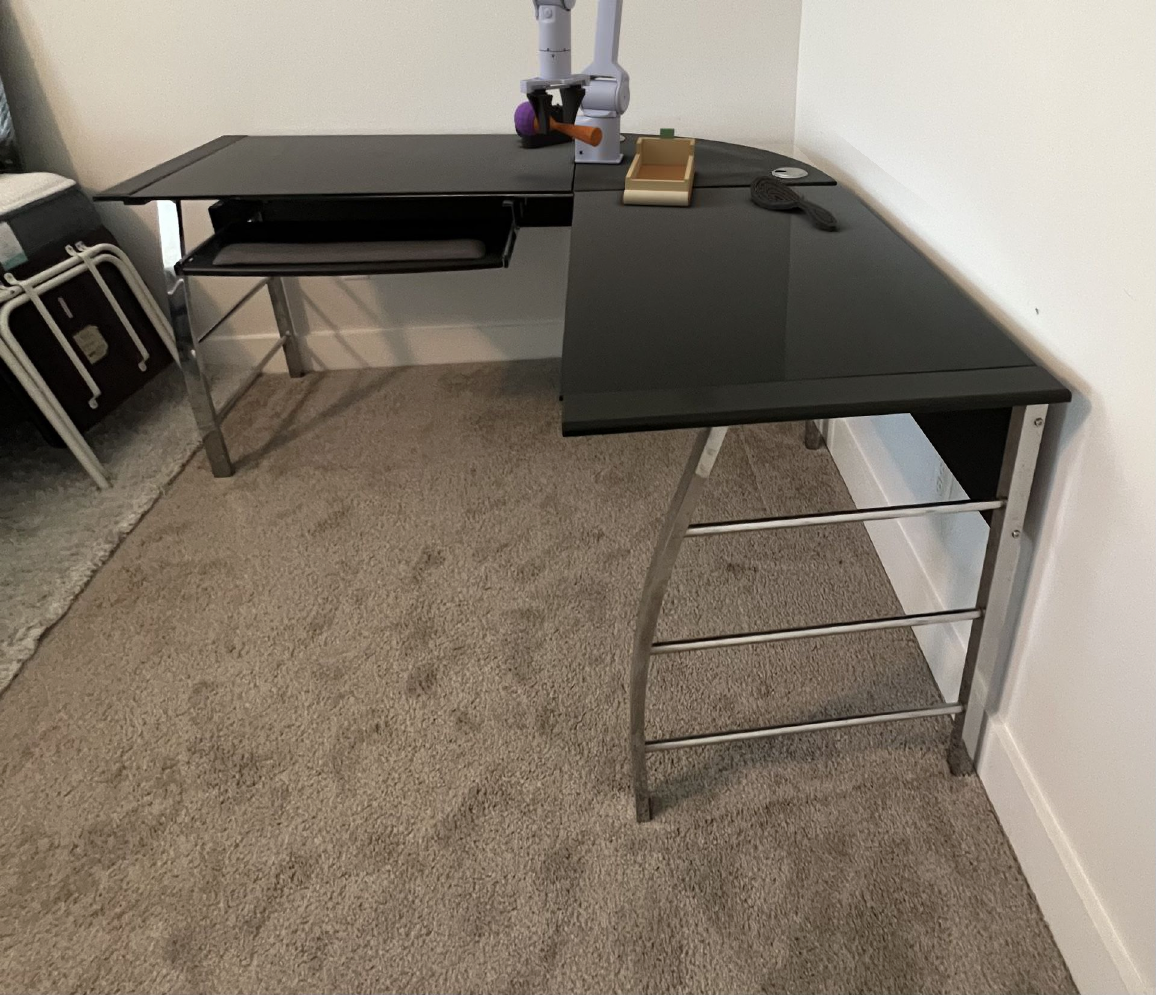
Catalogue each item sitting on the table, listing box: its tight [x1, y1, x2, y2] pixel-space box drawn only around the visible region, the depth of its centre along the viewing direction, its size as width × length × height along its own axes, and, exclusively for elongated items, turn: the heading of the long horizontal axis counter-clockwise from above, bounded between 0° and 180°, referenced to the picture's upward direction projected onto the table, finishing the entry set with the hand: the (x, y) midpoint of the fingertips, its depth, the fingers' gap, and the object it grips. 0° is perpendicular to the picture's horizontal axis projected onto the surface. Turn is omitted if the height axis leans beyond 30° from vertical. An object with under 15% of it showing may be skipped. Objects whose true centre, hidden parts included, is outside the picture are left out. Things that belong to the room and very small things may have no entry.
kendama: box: [513, 100, 602, 147], centre depth 157 cm, size 6×6×20 cm
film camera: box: [514, 102, 574, 149], centre depth 194 cm, size 15×10×9 cm, turn 133°
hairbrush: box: [749, 171, 838, 232], centre depth 145 cm, size 8×4×25 cm
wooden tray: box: [622, 127, 696, 207], centre depth 157 cm, size 27×12×8 cm, turn 171°
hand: (556, 131), depth 158 cm, fingers closed on kendama, 5 cm apart
